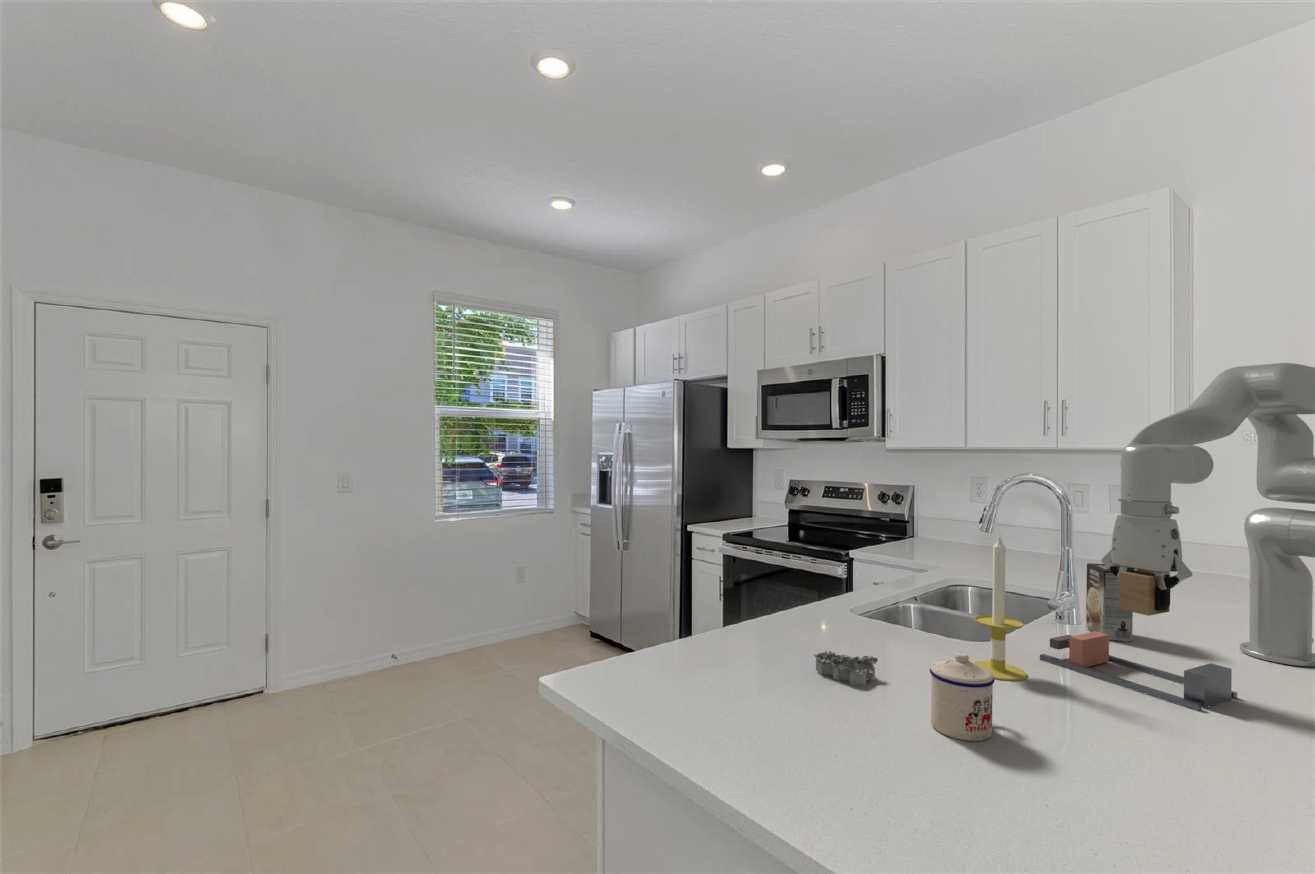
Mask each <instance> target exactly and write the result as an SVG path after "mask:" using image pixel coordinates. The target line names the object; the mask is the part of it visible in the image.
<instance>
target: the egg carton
mask: <svg viewBox="0 0 1315 874" xmlns="http://www.w3.org/2000/svg"><path fill="white" fill-rule="evenodd" d="M813 655H814V657H815V671H817V674H819V675H830V676H832V678H833V679H834V680H837V681H838V680H846V681H849V684H850V685H854V686H855V685H860V686H861V685H862V686H863V685H864V686H865V685H866V684H867V681H871V682H873V681H875V680H876V667H875V666H874V665H876V664H877V662H878V661H879V659H878V657H874V656H872V655H871V656H869V655H863V657H859V656H857V655H856V656H850V655H847V654H836V653H835V652H833V651H831V650H829V651H827V650H824V652H821V653H819V652H818V653H817V654H814V653H813ZM813 655H812V656H813Z"/></svg>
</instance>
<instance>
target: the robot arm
mask: <svg viewBox="0 0 1315 874" xmlns="http://www.w3.org/2000/svg"><path fill="white" fill-rule="evenodd" d="M1299 415H1315V367H1314V366H1309V365H1306V364H1300V363H1295V362H1294V363H1293V362H1278V363H1277V362H1276V363H1267V364H1266V363H1265V364H1255V365H1253V364H1252V365H1242V366H1235V367H1231V368H1228V369H1225V370H1223V371H1222V372H1220V373H1219V374H1218V375H1217V376H1216V377H1215V378H1214V379H1213V380H1212V381H1211V382H1210V384H1208V386H1207V387H1206V388H1205V389H1204V390H1203V391H1202V393H1200V395H1199V396H1198V397H1197V398H1196V399H1195V400H1194V401H1193V402H1192V404H1190V405H1189V407H1186V408H1185V409H1181V410H1178V411H1176V412H1173V413H1172V414H1170V415H1167V416H1166V417H1163V418H1161V419H1159V420H1157V421H1155V422H1153V423H1150V424H1149V425H1147V426H1145V427H1144V428H1142V430H1140V431H1139V432H1138V433H1137V434H1136V435H1135V436H1134V437H1133V438H1132V440H1131V441H1129V443H1128V444H1127V445H1126V446H1125V447H1124V448H1122V450H1121V455H1120V456H1121V457H1120V467H1121V468H1120V514H1118V515H1117V516H1116V519H1115V522H1114V526H1113V532H1112V538H1111V549H1110V551H1108V552H1107V554H1105V555H1104V556H1103V557H1102V558H1101V564H1105V565H1106V566H1107V567H1108V568H1109V569H1110V571H1111V572H1112V573H1113V574H1114V575H1115V576H1116V577H1117V578H1116V579H1117V580H1118V581H1119V572H1124V571H1132V570H1143V571H1149V572H1154V574H1155V577H1156V580H1157V584H1158V589H1156V590H1155V609H1156V610H1157V611H1163V610H1167V609H1168V607H1169V606H1171V589H1173V588H1174V587H1175V586H1177V585H1179V583H1181V582H1183V581H1185V580H1187V579H1188V578H1191V577H1192V576H1193V572H1192V571H1191V570H1190V569H1189V567H1188V566H1187V565H1186V563H1184V561H1183V552H1182V551H1183V550H1182V541H1181V535H1180V534H1181V533H1180V530H1179V524H1178V522H1177V519H1174V518H1171V517H1173V515H1174V514H1175V515H1178V514H1179V513H1180V508H1179V506H1174V505H1173V502H1171V501H1172V484H1182V485H1192V484H1197V483H1198V484H1199V483H1200V482H1203V481H1205V480H1206V479H1208V478H1209V477H1210V475H1211V474H1212V472H1213V470H1214V459H1213V457H1212V455H1211V453H1209V452H1208V450H1206V449H1204V448H1203V447H1200V446H1197V445H1200V444H1204V443H1208V442H1212V441H1216V440H1220V439H1223V438H1226V437H1228V436H1230V435H1232V434H1233V433H1235V432H1236V431H1237V429H1238V428H1239V427H1240V426H1241V425H1242V423H1243V422H1244V421H1245V420H1246V418H1247V419H1248V420H1249V422H1250V423H1251V425H1252V426H1253V428H1254V430H1255V433H1256V435H1257V436H1256V437H1257V453H1256V454H1257V457H1256V459H1257V460H1256V480H1255V481H1256V490H1257V491H1258V493H1259V495H1261V496H1262V498H1264V499H1267V500H1270V501H1276V502H1282V503H1283V502H1284V503H1295V504H1307V505H1315V455H1314V445H1315V444H1314V439H1315V438H1314V437H1315V436H1314V433H1313V431H1312V429H1311V428H1310V427H1309V425H1308V424H1307V423H1306V422H1305V421H1304V420H1303V419H1302V418H1301V417H1300V416H1299ZM1243 526H1244V534H1245V535H1244V536H1245V540H1246V543H1247V548H1248V549H1247V550H1248V554H1249V571H1250V572H1249V641H1246V642H1241V643H1239V650H1240V651H1241V653H1244V654H1246V655H1248V656H1251V657H1254V658H1257V659H1261V660H1264V661H1269V662H1273V663H1278V664H1284V665H1287V666H1288V665H1289V666H1299V667H1315V653H1313V643H1314V638H1313V594H1314V593H1313V588H1314V581H1313V580H1314V579H1313V575H1312V572H1311V571H1310V570H1309V568H1308V567H1307V564H1306V563H1305V562H1304V560H1302V559H1301V558H1300V557H1307V558H1315V510H1305V509H1297V508H1286V507H1285V508H1284V507H1261V508H1257V509H1255V510H1253V511H1251V512H1250V513H1249V514H1248V515H1246V518H1245V519H1244V524H1243ZM1176 572H1177V573H1176ZM1171 573H1176V574H1174V575H1172V574H1171Z"/></svg>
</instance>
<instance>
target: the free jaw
mask: <svg viewBox="0 0 1315 874" xmlns="http://www.w3.org/2000/svg"><path fill="white" fill-rule="evenodd" d="M1049 648H1052V649H1055V650H1058V651H1059V650H1063V649H1067V648H1068V651H1069V653H1068V654H1069V655H1068V657H1069V658H1068V659H1069V661H1068V662H1071V663H1074V664H1077V665H1080V666H1084V667H1087V668H1090V667H1092V666H1097V665H1101V664H1105V663H1110V662H1109V655H1110V640H1109V635H1108V634H1104V633H1101V632H1097V631H1095V632H1091V631H1090V632H1085V633H1082V634H1077V635H1072V634H1071V635H1070V634H1066V635H1060V636H1054V637H1050V638H1049Z"/></svg>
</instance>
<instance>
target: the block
mask: <svg viewBox="0 0 1315 874" xmlns="http://www.w3.org/2000/svg"><path fill="white" fill-rule="evenodd" d="M1156 589H1158V584H1157V580H1156V577H1155V574H1154V572H1149V571H1143V570H1137V569H1134V570H1132V571H1124V572H1119V609H1121V610H1126V611H1130V612H1133V614H1134V613H1135V614H1139V615H1143V616H1149V617H1150V616H1154V615H1158V614H1164V613H1169V612H1170V608H1171V607H1170V606H1171V605H1170V606H1169V607H1168V609H1167V610H1163V611H1157V610H1156V609H1155V590H1156Z"/></svg>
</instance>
